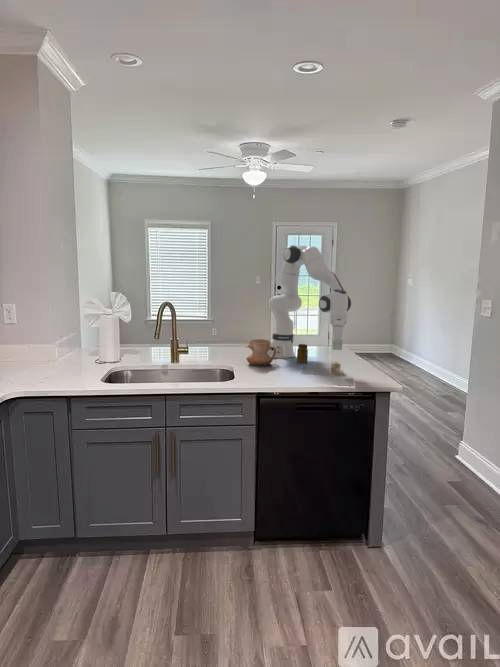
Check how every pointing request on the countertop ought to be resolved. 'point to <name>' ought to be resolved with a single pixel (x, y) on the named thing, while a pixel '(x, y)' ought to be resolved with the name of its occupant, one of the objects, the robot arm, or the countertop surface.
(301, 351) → the condiment
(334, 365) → the maple block
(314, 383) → the countertop surface
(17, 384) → the countertop surface
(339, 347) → the sage block
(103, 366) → the countertop surface
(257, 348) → the ceramic jug
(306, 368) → the grey flat slab
